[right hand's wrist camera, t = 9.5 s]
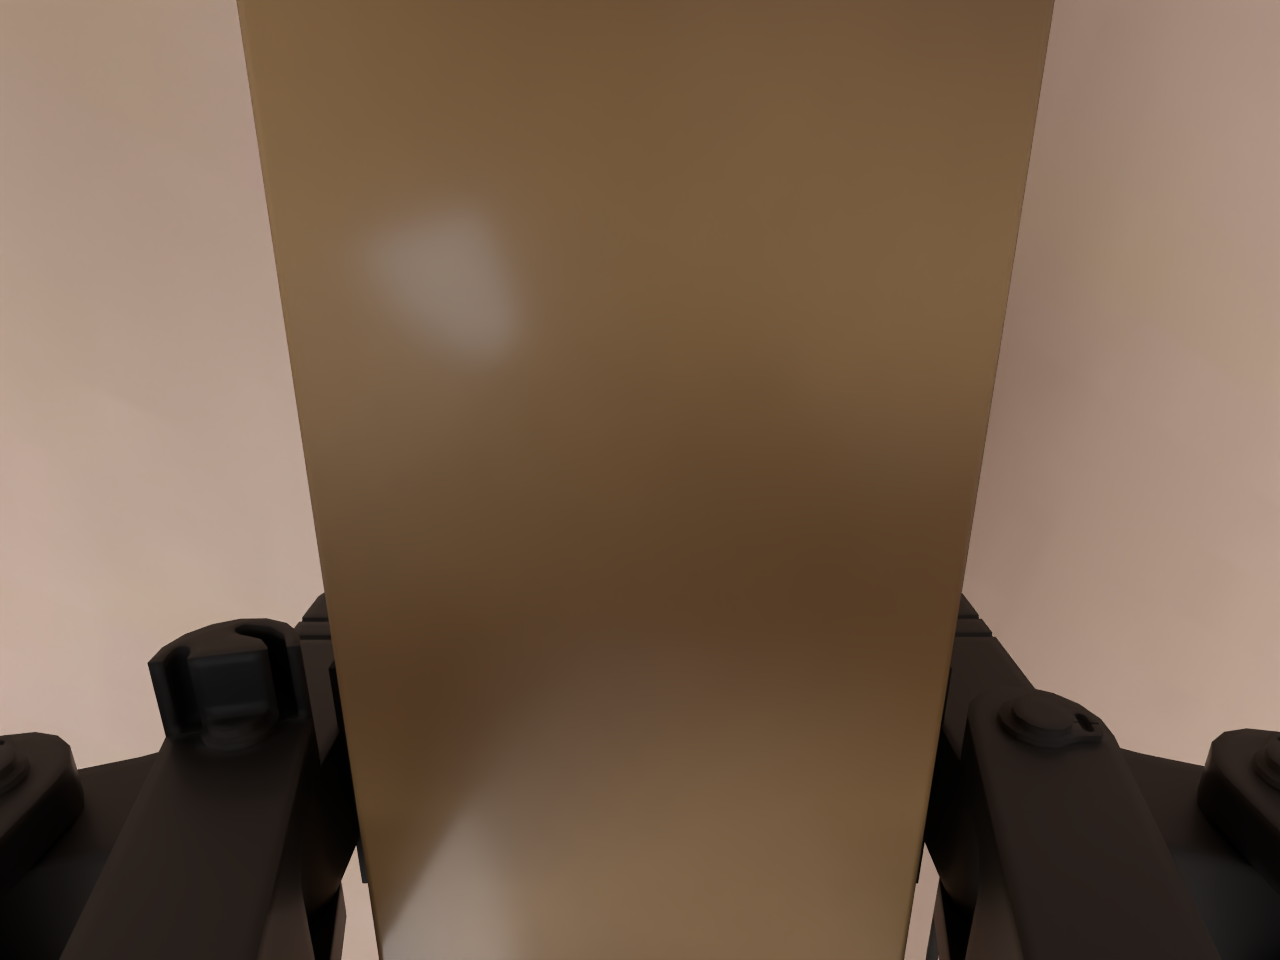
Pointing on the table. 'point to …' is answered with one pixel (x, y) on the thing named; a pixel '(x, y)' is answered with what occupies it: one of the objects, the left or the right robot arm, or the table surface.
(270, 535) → the table surface
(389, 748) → the post
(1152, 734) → the table surface
